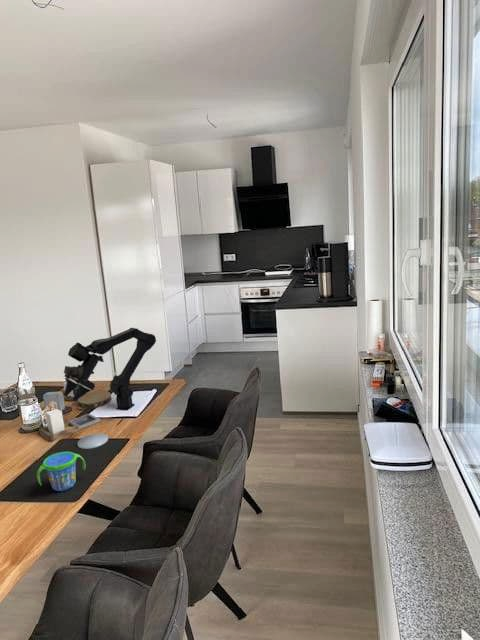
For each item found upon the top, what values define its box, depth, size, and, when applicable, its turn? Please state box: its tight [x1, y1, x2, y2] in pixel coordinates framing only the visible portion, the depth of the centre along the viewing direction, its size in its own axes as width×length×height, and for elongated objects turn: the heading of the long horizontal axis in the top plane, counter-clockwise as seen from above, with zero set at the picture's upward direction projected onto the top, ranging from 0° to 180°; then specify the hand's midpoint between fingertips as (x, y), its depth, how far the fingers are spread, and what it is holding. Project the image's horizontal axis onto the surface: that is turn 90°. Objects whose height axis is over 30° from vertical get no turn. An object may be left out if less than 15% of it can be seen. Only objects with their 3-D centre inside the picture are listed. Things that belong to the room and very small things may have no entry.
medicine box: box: [42, 391, 66, 412], centre depth 233 cm, size 8×4×9 cm, turn 84°
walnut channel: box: [38, 419, 80, 443], centre depth 208 cm, size 12×11×2 cm
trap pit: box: [67, 413, 101, 431], centre depth 216 cm, size 10×10×2 cm
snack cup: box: [36, 451, 87, 492], centre depth 164 cm, size 16×10×10 cm
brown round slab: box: [77, 390, 112, 409], centre depth 240 cm, size 16×16×3 cm
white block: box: [44, 408, 65, 435], centre depth 207 cm, size 5×5×10 cm
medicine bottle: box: [62, 381, 81, 398], centre depth 253 cm, size 7×7×12 cm
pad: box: [76, 433, 109, 450], centre depth 197 cm, size 12×12×1 cm
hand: (69, 398), depth 211 cm, fingers open, 9 cm apart
